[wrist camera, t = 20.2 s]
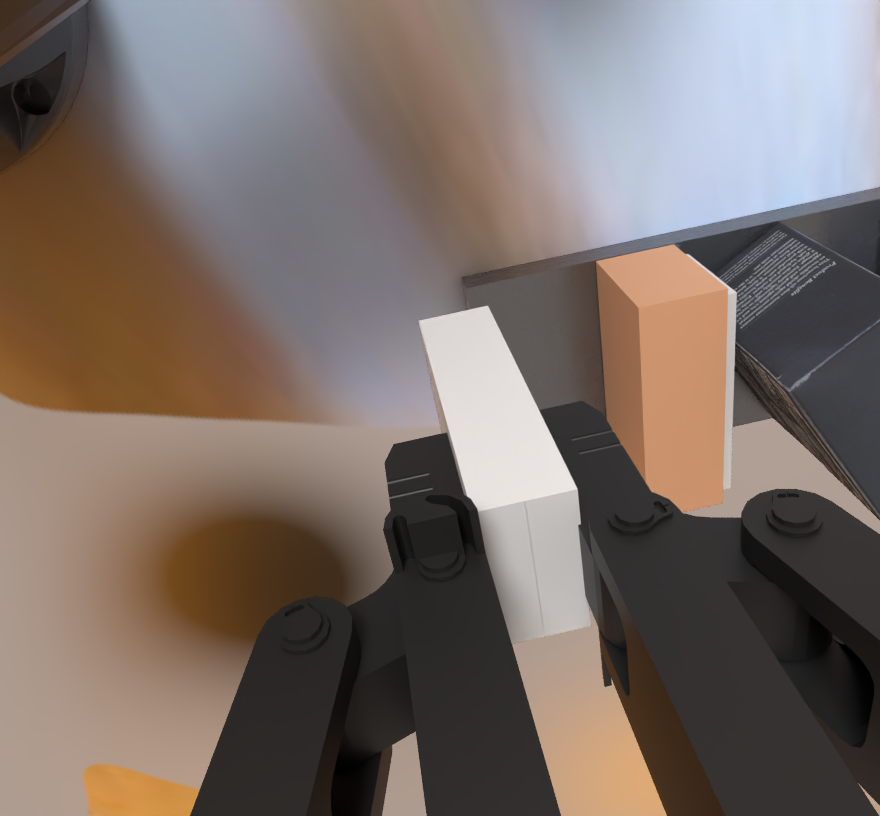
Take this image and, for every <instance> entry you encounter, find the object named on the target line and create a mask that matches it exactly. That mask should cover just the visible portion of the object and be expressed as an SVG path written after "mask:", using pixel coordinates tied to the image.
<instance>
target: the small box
mask: <svg viewBox="0 0 880 816" xmlns="http://www.w3.org/2000/svg"><path fill="white" fill-rule="evenodd" d="M714 275H715V276H717V277H718V278H719V279H720V280H722V281H723V282H724V283H725V284H727V285H728V286H729V287H730V288H732V289H733V290H734V291H735V292H737V302H736V334H735V366H734V368H735V369H736V370H737V372H738V373H739V375H740V377H741V378H742V379H743V380H744V381H745V383H746V384H747V385H748V386H749V388H750V389H751V390H752V392H753V393H754V394H755V396H756V397H757V398H758V400H759V401H760V402H761V403H762V404H763V406H764V407H765V408H766V409H767V410H768V412H769V413H770V414H771V416H772V418H774V419H775V420H776V421H777V422H778V423H779V424H780V425H782V426H783V428H784V429H786V430H787V431H788V432H789V433H790V434H791V435H793V436H794V437H795V438H796V439H797V440H798V441H799V442H800V443H801V444H802V445H803V446H804V447H805V448H806V449H808V450H809V451H810V452H811V453H812V454H813V455H814V456H815V457H816V458H817V459H818V460H819V461H820V462H821V463H823V464H824V465H825V467H826V468H827V469H828V470H829V471H830V472H831V473H832V474H833V475H834V476H835V477H836V478H837V479H838V480H839V481H840V482H841V483H843V484H844V486H846V487H847V488H848V489H849V491H851V492H852V493H853V495H855V496H856V497H857V498H858V499H859V500H860V501H861V502H862V503H863V504H864V505H865V506H866V507H867V508H868V509H869V510H870V511H871V512H872V513H873V514H874V515H875V516H876V517H877V518H878V519H879V520H880V276H878V275H876V274H874V273H872V272H871V271H869V270H867V269H865V268H863V267H862V266H860V265H858V264H856V263H854V262H852V261H850V260H849V259H847V258H845V257H843V256H841V255H840V254H838V253H836V252H834V251H832V250H831V249H829V248H827V247H825V246H823V245H821V244H819V243H818V242H816V241H814V240H812V239H810V238H809V237H807V236H805V235H803V234H802V233H800V232H798V231H796V230H795V229H793V228H791V227H789V226H787V225H785V224H783V223H779V224H778V225H776V226H775V227H773V228H772V229H771V230H769V231H768V232H767V233H766V234H765V235H763V236H762V237H761V238H759V239H758V240H757V241H756V242H754V243H753V244H752V245H751V246H749V247H748V248H747V249H746V250H744V251H743V252H742V253H740V254H739V255H738V256H737V257H735V258H734V259H733V260H732V261H730V262H729V263H728V264H727V265H725V266H724V267H723V268H722V269H720V270H719V271H718V272H717V273H716V274H714Z"/></svg>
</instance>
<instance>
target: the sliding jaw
mask: <svg viewBox="0 0 880 816" xmlns="http://www.w3.org/2000/svg"><path fill="white" fill-rule="evenodd" d="M596 272H597V286H598V300H599V314H600V329H601V343H602V357H603V371H604V386H605V400H606V414H607V421H608V423H609V425H610V426H611V428H612V431H613V432H614V433H615V434H616V436H617V437H618V439H619V441H620V443H621V446H622V445H623V447H624V449H625V450H626V452H627V453H628V455H629V457H630V458H631V460H632V461H633V463H634V465H635V466H636V468H637V469H638V471H639V473H640V474H641V476H642V477H643V479H644V481H645V482H646V484H647V485H648V487H649V489H650V490H651V492H654V493H656V494H659V495H661V496H663V497H666V498H668V499H670V500H671V501H672V502H673V503H674V504H675V505H676V506H677V507H678V508H679V509H680V511H681V512H686V511H690V510H695V509H699V508H704V507H707V506H712V505H717V504H721V503H723V490H725V489H730V488H731V460H732V429H733V398H734V366H735V334H736V302H737V292H735V291H734V290H733V289H732V288H730V287H729V286H728V285H727V284H725V283H724V282H723V281H722V280H720V279H719V278H718V277H717V276H715V275H714V274H713V273H712V272H710V271H709V270H708V269H707V268H705V267H704V266H703V265H702V264H700V263H699V262H698V261H697V260H695V259H694V258H693V257H692V256H690V255H689V254H685V253H683V252H682V251H681V250H680V249H679V248H677V247H676V246H675V245H674V244H673V245H668V246H664V247H659V248H654V249H650V250H645V251H641V252H636V253H631V254H627V255H622V256H617V257H613V258H608V259H604V260H599V261H596Z"/></svg>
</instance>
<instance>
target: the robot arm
mask: <svg viewBox="0 0 880 816" xmlns="http://www.w3.org/2000/svg"><path fill="white" fill-rule="evenodd" d="M88 1H90V0H0V174H1V173H3V172H5V171H7V170H8V169H10V168H11V167H13V166H14V165H16V164H17V163H19V162H20V161H22V160H23V159H25V158H26V157H28V156H29V155H31V154H32V153H33V152H34V151H36V150H37V149H38V148H39V147H41V146H42V145H43V144H44V143H45V142H46V141H47V140H48V139H49V138H50V137H51V136H52V134H53V133H54V132H55V131H56V130H57V129H58V127H59V126H60V124H61V123H62V121H63V120H64V119H65V117H66V115H67V113H68V112H69V110H70V108H71V106H72V104H73V102H74V100H75V98H76V95H77V93H78V90H79V87H80V84H81V81H82V77H83V73H84V69H85V64H86V58H87V49H88V11H87V2H88ZM419 326H420V331H421V335H422V340H423V345H424V350H425V355H426V360H427V365H428V369H429V374H430V379H431V384H432V389H433V394H434V399H435V403H436V408H437V413H438V418H439V423H440V428H441V431H442V434H438V435H434V436H429V437H424V438H420V439H415V440H411V441H406V442H402V443H397V444H394V445H393V447H392V449H391V451H390V453H389V455H388V457H387V459H386V461H385V469H386V477H387V483H388V492H389V497H390V507H391V511H390V512H389V514H388V515H387V516H386V518H385V523H384V529H383V531H384V535H385V538H386V542H387V545H388V549H389V552H390V556H391V560H392V563H393V567H394V570H393V572H392V574H391V575H390V577H389V578H388V579H387V581H386V582H385V583H384V584H383V585H382V586H381V587H380V588H379V589H378V590H377V591H375V592H374V593H372V594H370V595H369V596H367V597H365V598H364V599H362V600H360V601H358V602H356V603H354V604H352V605H350V606H348V607H346V606H345V605H344V604H342V603H340V602H338V601H336V600H334V599H333V598H325V597H311V598H306V599H301V600H297V601H295V602H293V603H291V604H289V605H287V606H285V607H283V608H281V609H280V610H279V611H278V612H276V613H275V614H274V615H273V616H272V617H271V618H269V619H268V620H267V622H266V623H265V625H264V626H263V628H262V630H261V631H260V633H259V635H258V637H257V640H256V643H255V645H254V648H253V650H252V653H251V656H250V658H249V661H248V664H247V666H246V669H245V672H244V674H243V677H242V680H241V682H240V685H239V687H238V690H237V693H236V695H235V698H234V701H233V703H232V706H231V709H230V711H229V714H228V717H227V719H226V722H225V725H224V728H223V730H222V733H221V735H220V738H219V741H218V743H217V746H216V749H215V751H214V754H213V757H212V759H211V762H210V765H209V767H208V770H207V773H206V775H205V778H204V780H203V783H202V786H201V788H200V791H199V794H198V796H197V799H196V802H195V804H194V807H193V810H192V812H191V815H190V816H382V811H383V805H384V799H385V793H386V787H387V781H388V775H389V769H390V763H391V756H392V745H393V744H394V743H396V742H398V741H400V740H401V739H403V738H405V737H406V736H408V735H410V734H412V733H414V732H415V731H416V736H417V744H418V752H419V759H420V767H421V775H422V783H423V790H424V798H425V806H426V813H427V816H561V814H560V811H559V808H558V804H557V800H556V797H555V793H554V790H553V786H552V783H551V779H550V776H549V772H548V769H547V765H546V762H545V759H544V755H543V751H542V748H541V744H540V741H539V737H538V734H537V731H536V727H535V723H534V720H533V717H532V713H531V710H530V706H529V702H528V699H527V696H526V692H525V689H524V686H523V682H522V678H521V675H520V671H519V668H518V664H517V661H516V657H515V654H514V650H513V647H512V644H515V643H520V642H524V641H528V640H533V639H537V638H541V637H546V636H550V635H554V634H558V633H563V632H567V631H571V630H576V629H580V628H584V627H589V626H591V619H590V609H589V606H590V608H591V610H592V613H593V615H594V617H595V620H596V622H597V625H598V628H599V639H600V648H601V660H602V670H603V679H604V686H605V687H606V686H610V685H612V684H611V678H612V680H613V683H614V685H615V688H616V690H617V693H618V695H619V698H620V700H621V703H622V705H623V708H624V710H625V713H626V715H627V717H628V720H629V722H630V725H631V727H632V730H633V732H634V735H635V737H636V740H637V742H638V745H639V747H640V750H641V752H642V755H643V757H644V760H645V762H646V764H647V767H648V769H649V772H650V774H651V777H652V779H653V782H654V784H655V787H656V789H657V792H658V794H659V797H660V799H661V802H662V804H663V807H664V809H665V811H666V814H667V816H879V815H878V813H877V812H876V810H875V809H874V807H873V806H872V804H871V803H870V801H869V799H868V798H867V796H866V795H865V793H864V792H863V790H862V789H861V787H860V786H859V784H860V785H861V786H862V787H863V788H864V789H865V791H866V792H867V793H868V794H869V795H870V796H871V797H872V798H873V799H874V800H875V801H876V802H877V803H878V804H879V805H880V534H878V533H877V532H875V531H874V530H873V529H871V528H870V527H868V526H867V525H865V524H864V523H862V522H861V521H860V520H858V519H857V518H855V517H854V516H852V515H851V514H849V513H848V512H846V511H845V510H843V509H842V508H841V507H839V506H838V505H836V504H835V503H833V502H832V501H830V500H828V499H825V498H824V497H821V496H820V495H817V494H815V493H811V492H807V491H802V490H798V489H775V490H771V491H767V492H763V493H760V494H758V495H756V496H755V497H754V498H752V499H750V500H749V501H747V503H746V505H745V507H744V509H743V511H742V516H741V518H710V517H696V516H692V515H688V514H683V513H682V512H681V511H680V509H679V508H678V507H677V506H676V505H675V504H674V503H673V502H672V501H671V500H670V499H668V498H666V497H663V496H661V495H659V494H656V493H654V492H651V490H650V489H649V487H648V485H647V484H646V482H645V481H644V479H643V477H642V476H641V474H640V473H639V471H638V469H637V468H636V466H635V465H634V463H633V461H632V460H631V458H630V457H629V455H628V453H627V452H626V450H625V449H624V447H623V445H622V446H621V443H620V441H619V439H618V437H617V436H616V434H615V433H614V432H613V431H612V428H611V426H610V425H609V423H608V421H607V420H606V418H605V417H604V415H603V413H602V412H600V411H599V410H597V409H595V408H594V407H592V406H590V405H589V404H587V403H585V402H584V401H578V402H573V403H569V404H564V405H560V406H555V407H551V408H546V409H542V410H539V409H538V407H537V405H536V403H535V401H534V399H533V397H532V395H531V393H530V391H529V389H528V387H527V385H526V383H525V381H524V379H523V376H522V374H521V372H520V370H519V368H518V366H517V364H516V362H515V360H514V358H513V356H512V354H511V352H510V350H509V348H508V346H507V344H506V342H505V340H504V338H503V336H502V334H501V331H500V329H499V327H498V325H497V323H496V321H495V319H494V317H493V315H492V313H491V311H490V309H489V307H488V306H484V307H479V308H475V309H470V310H465V311H461V312H456V313H452V314H447V315H442V316H438V317H433V318H429V319H424V320H419ZM857 782H858V783H859V784H858V783H857Z"/></svg>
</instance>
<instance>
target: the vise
mask: <svg viewBox="0 0 880 816" xmlns="http://www.w3.org/2000/svg"><path fill="white" fill-rule="evenodd" d="M779 223H783V224H785V225H787V226H789V227H791V228H793V229H795V230H796V231H798V232H800V233H802V234H803V235H805V236H807V237H809V238H810V239H812V240H814V241H816V242H818V243H819V244H821V245H823V246H825V247H827V248H829V249H831V250H832V251H834V252H836V253H838V254H840V255H841V256H843V257H845V258H847V259H849V260H850V261H852V262H854V263H856V264H858V265H860V266H862V267H863V268H865V269H867V270H869V271H871V272H872V273H874V274H876V275H878V276H880V187H879V188H874V189H870V190H865V191H860V192H856V193H851V194H846V195H842V196H837V197H833V198H828V199H823V200H819V201H814V202H809V203H805V204H800V205H796V206H791V207H786V208H782V209H777V210H772V211H768V212H763V213H759V214H754V215H749V216H745V217H740V218H735V219H731V220H726V221H722V222H717V223H712V224H708V225H703V226H698V227H694V228H689V229H685V230H680V231H675V232H671V233H666V234H661V235H657V236H652V237H648V238H643V239H638V240H634V241H629V242H624V243H620V244H615V245H611V246H606V247H601V248H597V249H592V250H587V251H583V252H578V253H574V254H569V255H564V256H560V257H555V258H550V259H546V260H541V261H536V262H532V263H527V264H523V265H518V266H513V267H509V268H504V269H499V270H495V271H490V272H486V273H481V274H476V275H472V276H467V277H462V284H463V290H464V296H465V302H466V308H467V310H470V309H475V308H479V307H484V306H488V307H489V309H490V311H491V313H492V315H493V317H494V319H495V321H496V323H497V325H498V327H499V329H500V331H501V334H502V336H503V338H504V340H505V342H506V344H507V346H508V348H509V350H510V352H511V354H512V356H513V358H514V360H515V362H516V364H517V366H518V368H519V370H520V372H521V374H522V376H523V379H524V381H525V383H526V385H527V387H528V389H529V391H530V393H531V395H532V397H533V399H534V401H535V403H536V405H537V407H538V409H539V410H542V409H546V408H551V407H555V406H560V405H564V404H569V403H573V402H578V401H584V402H585V403H587V404H589V405H590V406H592V407H594V408H595V409H597V410H599V411H600V412H602V413H603V415H604V417H605V418H606V420H607V414H606V400H605V386H604V371H603V357H602V343H601V329H600V314H599V300H598V286H597V272H596V261H599V260H604V259H608V258H613V257H617V256H622V255H627V254H631V253H636V252H641V251H645V250H650V249H654V248H659V247H664V246H668V245H673V244H674V245H675V246H676V247H677V248H679V249H680V250H681V251H682V252H683V253H685V254H689V255H690V256H692V257H693V258H694V259H695V260H697V261H698V262H699V263H700V264H702V265H703V266H704V267H705V268H707V269H708V270H709V271H710V272H712V273H713V274H716V273H717V272H718V271H719V270H720V269H722V268H723V267H724V266H725V265H727V264H728V263H729V262H730V261H732V260H733V259H734V258H735V257H737V256H738V255H739V254H740V253H742V252H743V251H744V250H746V249H747V248H748V247H749V246H751V245H752V244H753V243H754V242H756V241H757V240H758V239H759V238H761V237H762V236H763V235H765V234H766V233H767V232H768V231H769V230H771V229H772V228H773V227H775V226H776V225H778V224H779ZM770 418H772V416H771V414H770V413H769V412H768V410H767V409H766V408H765V407H764V406H763V404H762V403H761V402H760V401H759V400H758V398H757V397H756V396H755V394H754V393H753V392H752V390H751V389H750V388H749V386H748V385H747V384H746V383H745V381H744V380H743V379H742V378H741V377H740V375H739V373H738V372H737V370H736V369H735V368H734V398H733V427H734V426H739V425H743V424H748V423H752V422H756V421H761V420H765V419H770Z"/></svg>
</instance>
